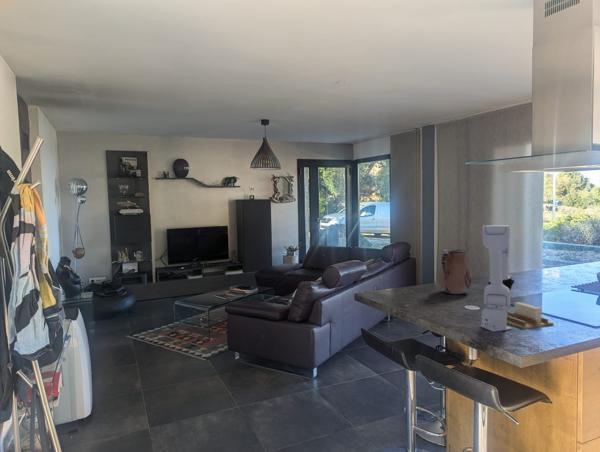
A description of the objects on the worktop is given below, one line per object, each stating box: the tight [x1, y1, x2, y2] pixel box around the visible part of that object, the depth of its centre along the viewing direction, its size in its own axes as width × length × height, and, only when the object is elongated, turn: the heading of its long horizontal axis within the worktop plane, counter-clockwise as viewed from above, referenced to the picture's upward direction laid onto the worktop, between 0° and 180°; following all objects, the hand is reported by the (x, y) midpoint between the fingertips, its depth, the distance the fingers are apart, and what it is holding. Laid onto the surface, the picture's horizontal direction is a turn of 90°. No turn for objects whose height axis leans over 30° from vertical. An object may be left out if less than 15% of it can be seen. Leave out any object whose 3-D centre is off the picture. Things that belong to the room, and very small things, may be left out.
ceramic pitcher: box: [438, 248, 472, 295], centre depth 244 cm, size 18×21×25 cm
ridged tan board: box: [507, 310, 554, 330], centre depth 186 cm, size 16×18×2 cm
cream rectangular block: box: [513, 301, 542, 323], centre depth 186 cm, size 3×12×6 cm, turn 15°
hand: (501, 296), depth 195 cm, fingers open, 7 cm apart
